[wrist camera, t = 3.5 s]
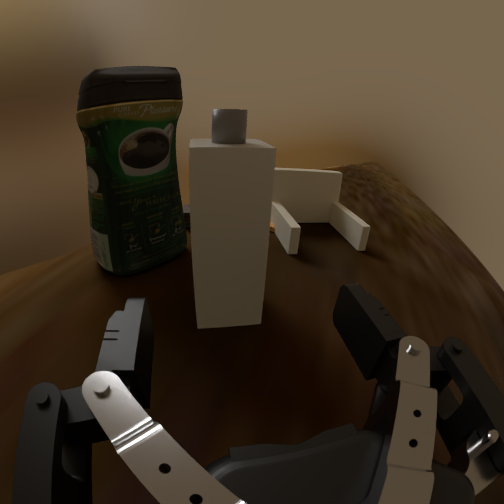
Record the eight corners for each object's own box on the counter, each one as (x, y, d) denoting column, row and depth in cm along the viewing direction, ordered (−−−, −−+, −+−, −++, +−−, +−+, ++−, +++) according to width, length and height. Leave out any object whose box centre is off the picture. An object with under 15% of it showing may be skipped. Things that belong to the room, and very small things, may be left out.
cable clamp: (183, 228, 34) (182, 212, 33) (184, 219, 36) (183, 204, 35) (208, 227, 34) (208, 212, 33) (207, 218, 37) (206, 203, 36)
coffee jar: (160, 229, 33) (156, 73, 24) (199, 253, 28) (200, 61, 20) (87, 255, 27) (70, 78, 18) (112, 289, 22) (90, 59, 13)
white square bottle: (197, 328, 19) (189, 109, 12) (195, 290, 23) (191, 109, 16) (260, 323, 20) (278, 111, 13) (249, 287, 24) (260, 110, 17)
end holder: (288, 254, 29) (295, 188, 26) (266, 219, 37) (270, 167, 34) (364, 250, 31) (377, 192, 28) (331, 219, 39) (338, 171, 36)
